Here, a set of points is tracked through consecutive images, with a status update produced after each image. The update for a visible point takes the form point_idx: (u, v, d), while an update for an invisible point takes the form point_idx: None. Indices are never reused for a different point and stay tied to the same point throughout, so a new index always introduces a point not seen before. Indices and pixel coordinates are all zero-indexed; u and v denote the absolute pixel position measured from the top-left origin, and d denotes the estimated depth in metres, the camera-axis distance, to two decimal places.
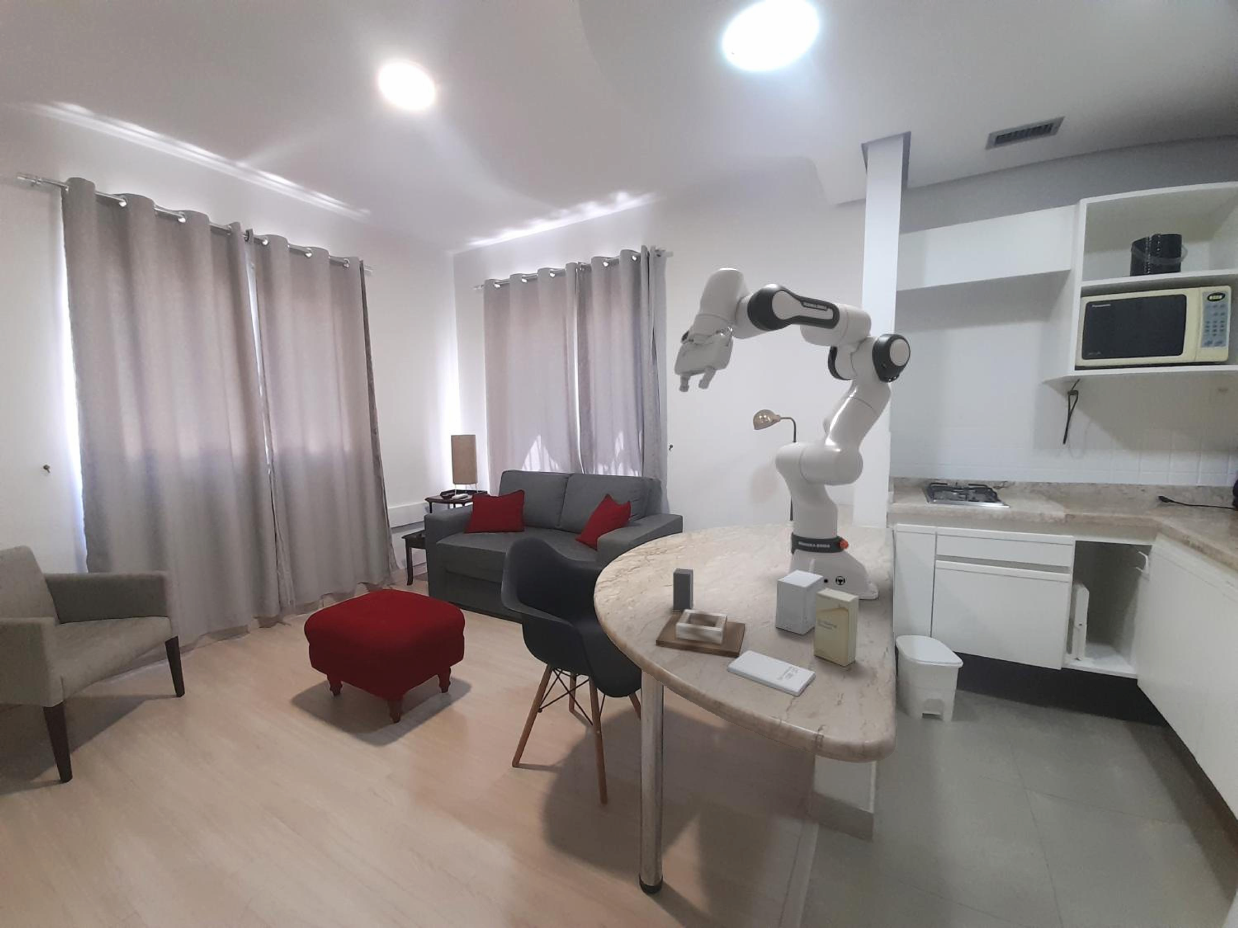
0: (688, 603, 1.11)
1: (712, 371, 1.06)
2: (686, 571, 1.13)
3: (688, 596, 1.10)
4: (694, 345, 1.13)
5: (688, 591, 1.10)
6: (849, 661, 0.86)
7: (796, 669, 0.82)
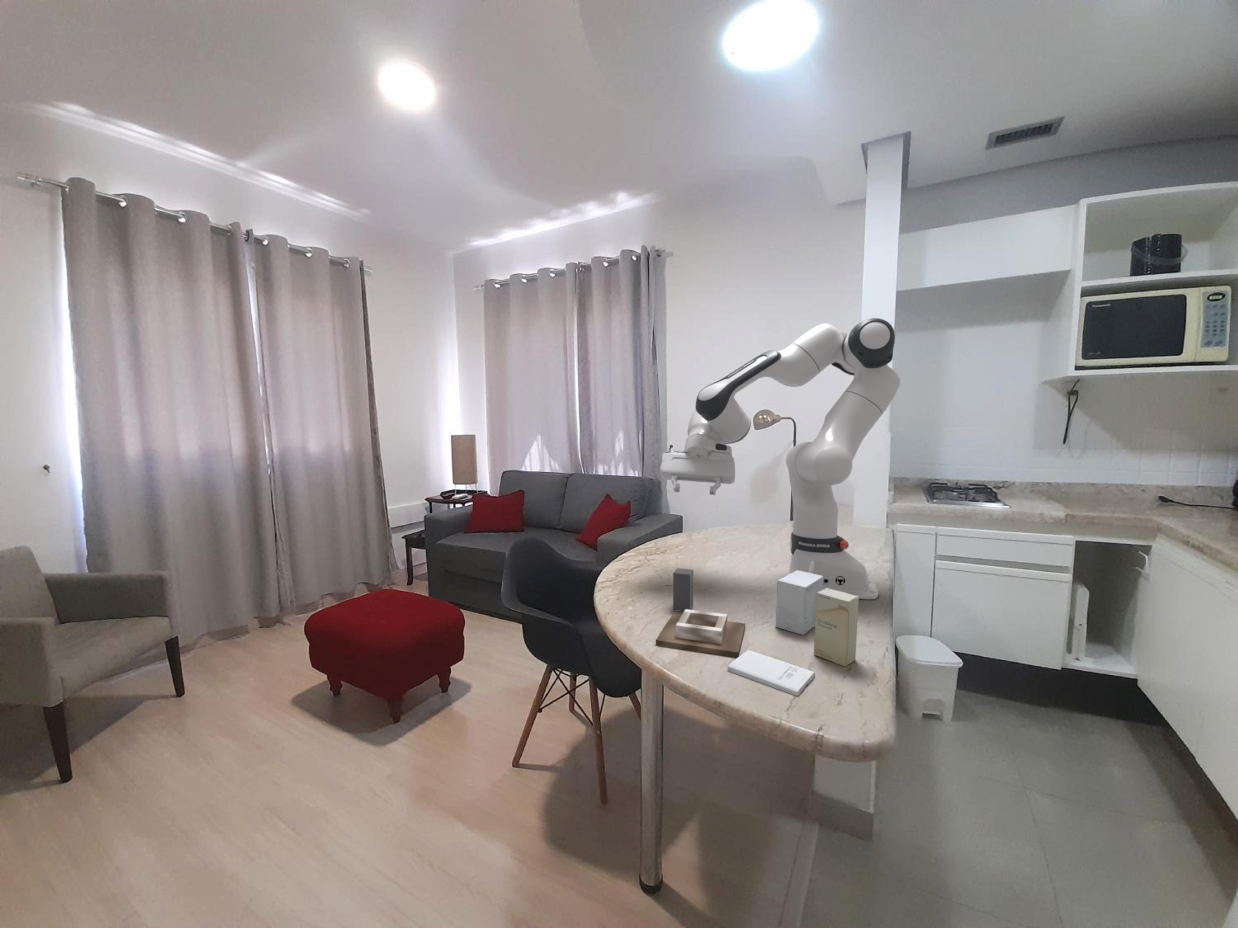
0: (688, 603, 1.11)
1: None
2: (686, 571, 1.13)
3: (688, 596, 1.10)
4: None
5: (688, 591, 1.10)
6: (849, 661, 0.86)
7: (796, 669, 0.82)
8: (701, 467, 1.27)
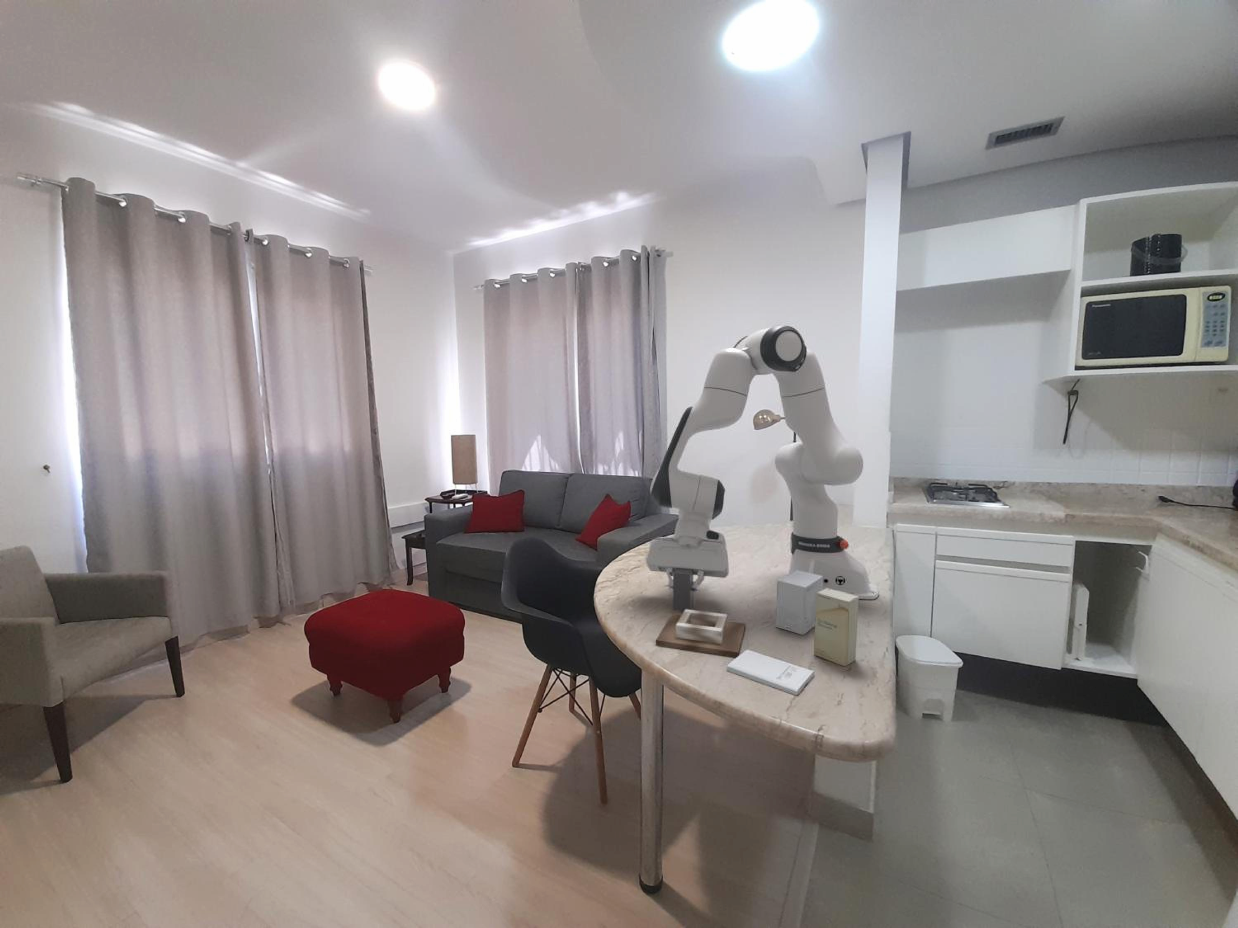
0: (688, 603, 1.11)
1: None
2: (686, 571, 1.13)
3: (688, 596, 1.10)
4: None
5: (688, 591, 1.10)
6: (849, 661, 0.86)
7: (795, 668, 0.82)
8: (691, 559, 1.15)
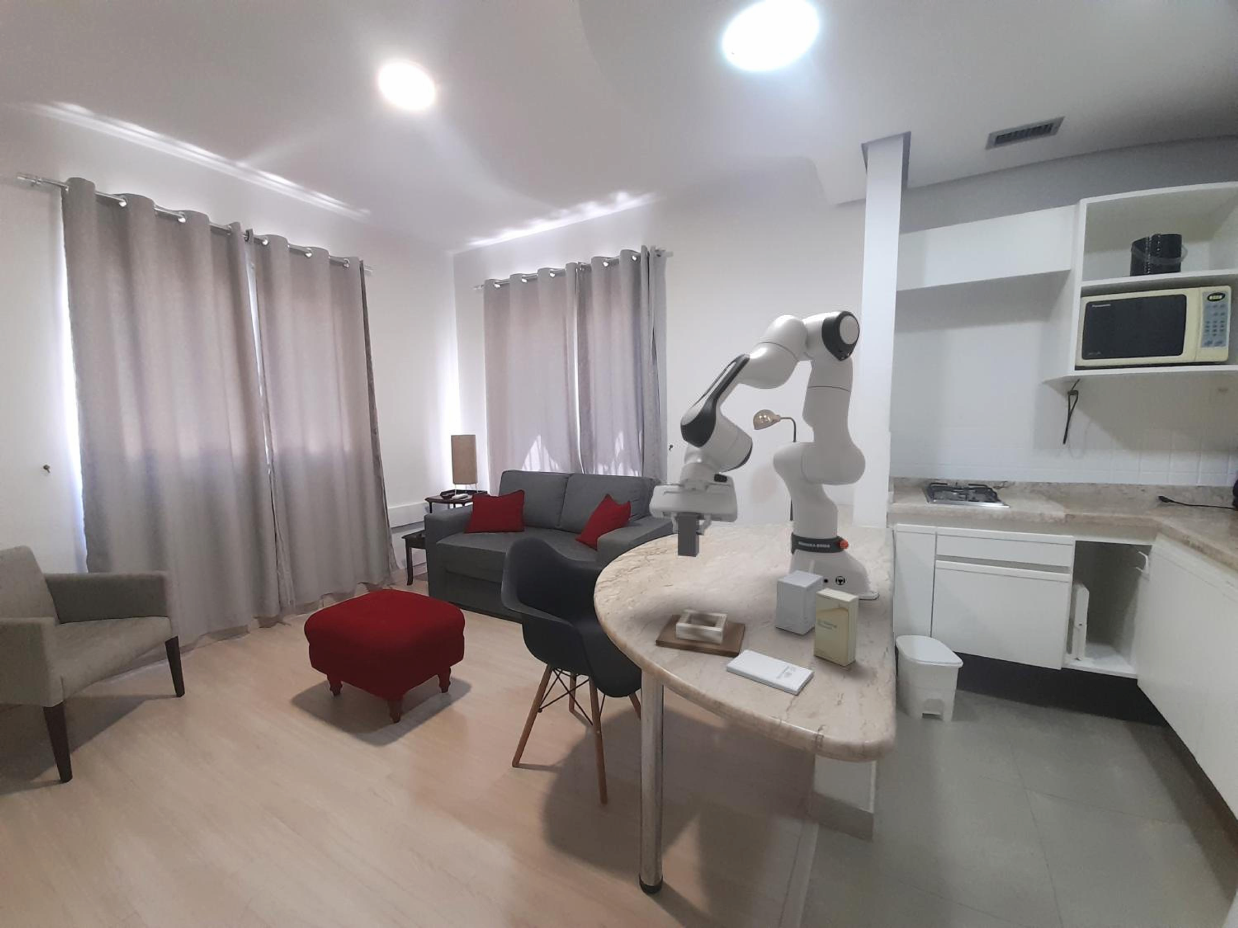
0: (694, 547, 1.03)
1: None
2: (692, 514, 1.05)
3: (694, 540, 1.03)
4: None
5: (694, 534, 1.03)
6: (849, 661, 0.86)
7: (794, 668, 0.83)
8: (697, 503, 1.07)
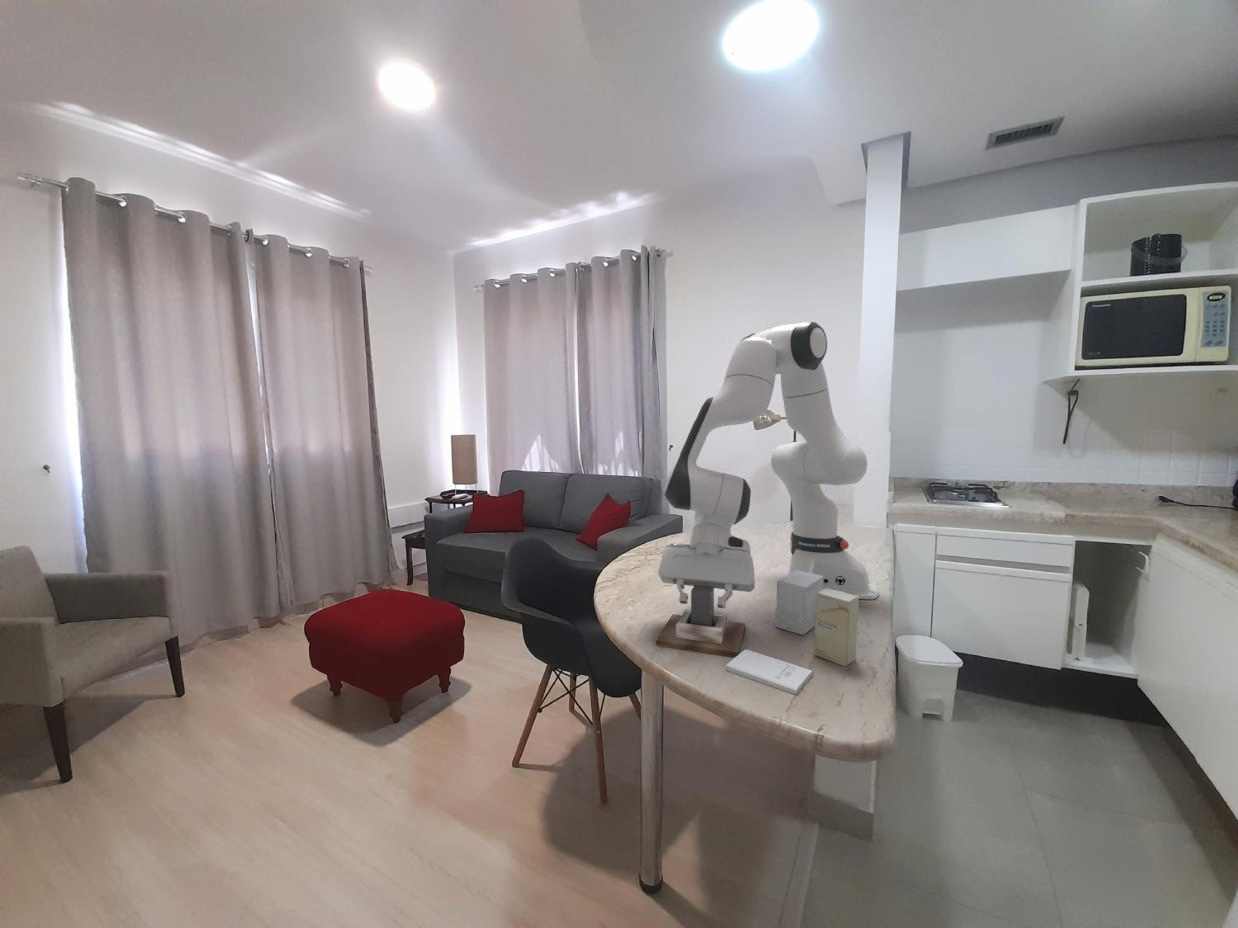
0: (709, 626, 0.95)
1: None
2: (706, 588, 0.97)
3: (709, 618, 0.95)
4: None
5: (709, 612, 0.95)
6: (849, 661, 0.86)
7: (793, 667, 0.83)
8: (711, 570, 0.99)
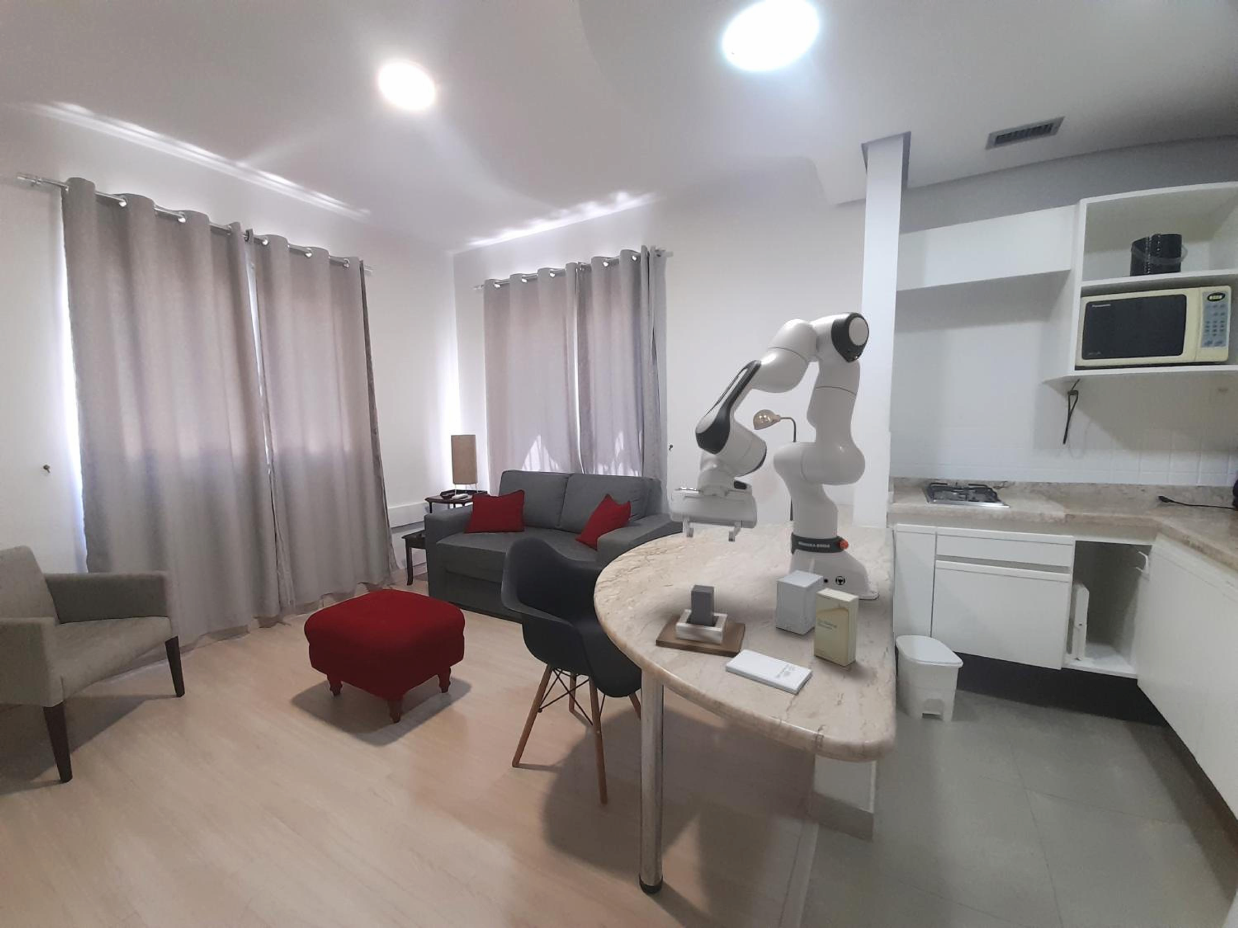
0: (709, 626, 0.95)
1: (683, 520, 1.11)
2: (706, 588, 0.97)
3: (709, 618, 0.95)
4: None
5: (709, 612, 0.95)
6: (849, 661, 0.86)
7: (793, 667, 0.83)
8: (718, 509, 1.10)
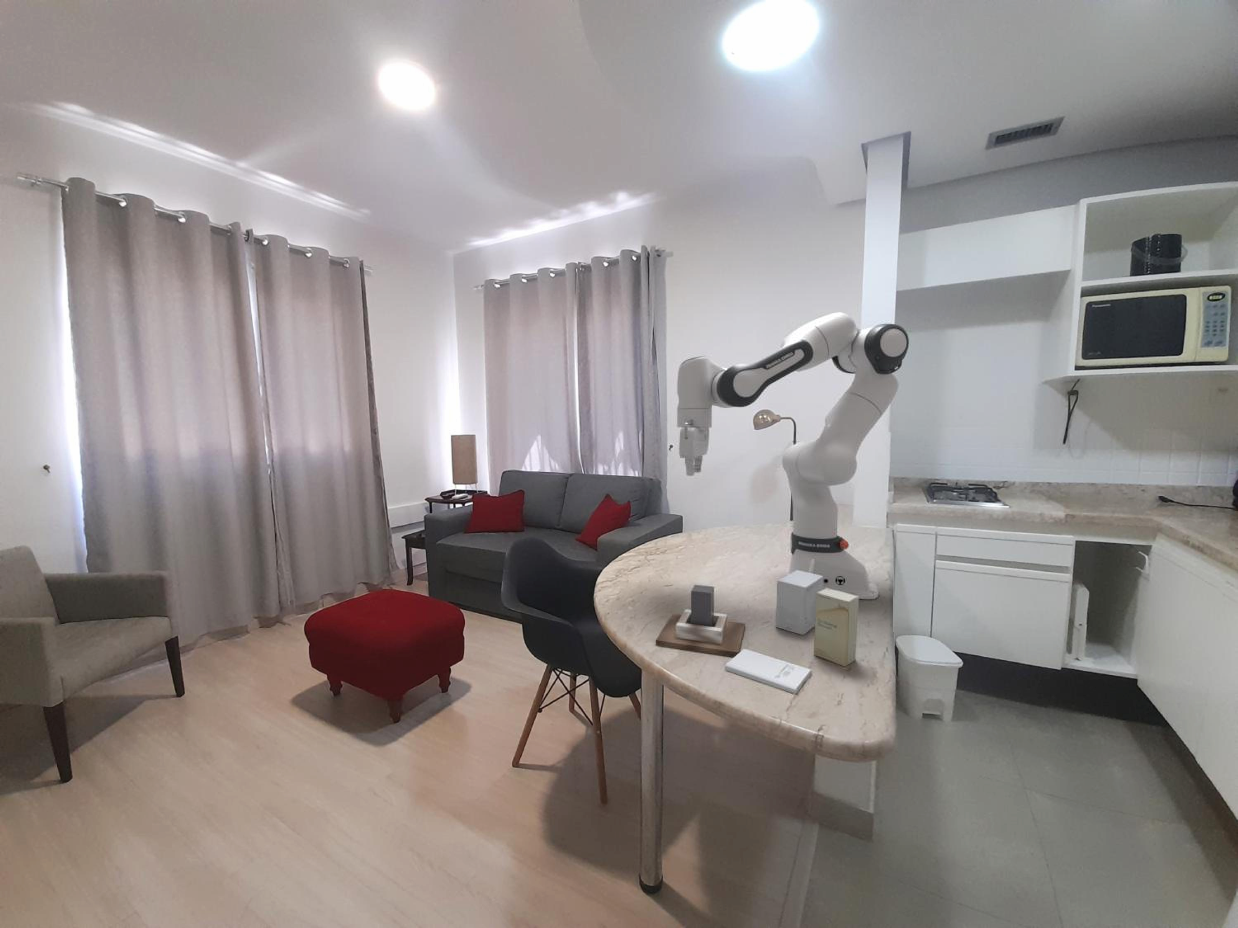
0: (709, 626, 0.95)
1: (690, 460, 1.17)
2: (706, 588, 0.97)
3: (709, 618, 0.95)
4: None
5: (709, 612, 0.95)
6: (849, 661, 0.86)
7: (792, 667, 0.83)
8: (702, 447, 1.23)
